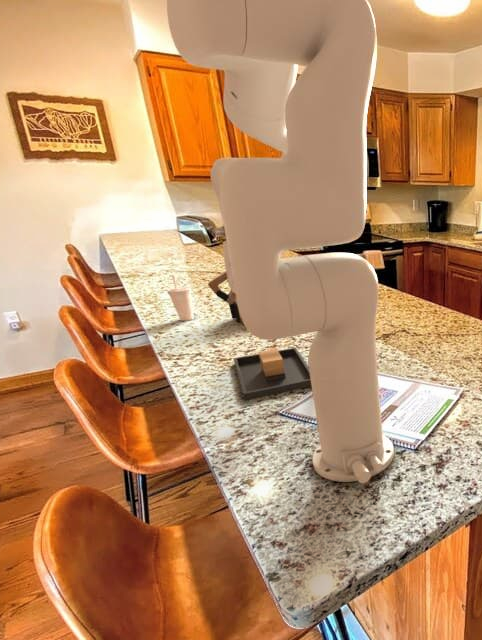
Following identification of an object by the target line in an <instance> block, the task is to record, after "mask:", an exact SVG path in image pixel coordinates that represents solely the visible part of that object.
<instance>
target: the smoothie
mask: <svg viewBox="0 0 482 640" xmlns="http://www.w3.org/2000/svg"><path fill="white" fill-rule="evenodd" d="M171 277H172V280H173V285H174V287H171V288H168V289H167V290H166V292H167V294H168V295H169V297H170V300H171V302H172V304H173V307H174V309H175V311H176V313H177V316H178V319H179V320H180V321H183V322H186V321H191V320H194V319H195V318H194V310H193V302H192V294H191V292H192V289H191V287H189V286H178V284H177V281H176V280H177V279H176V277H175V274H172V275H171Z"/></svg>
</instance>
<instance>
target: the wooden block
mask: <svg viewBox="0 0 482 640" xmlns="http://www.w3.org/2000/svg"><path fill="white" fill-rule="evenodd" d="M278 351H279V350H278V348H275V349H269V350H268V349H267V350H262V351H258V353H257V354H259V358H260V363H261V367H262V371H263V374H264V376H265V379H266V381H267V382H268V381H272V380H277V379H282V378H286V376H285V370H284V365H283V359H282V357H281V355H280V354H279V352H278Z"/></svg>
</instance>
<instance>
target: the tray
mask: <svg viewBox="0 0 482 640" xmlns="http://www.w3.org/2000/svg"><path fill="white" fill-rule="evenodd" d="M278 352H279V354H280V355H281V357H282V359H283V365H284V370H285V376H286V378H282V379H277V380H272V381H268V382H267V381H266V379H265V376H264V374H263V371H262V367H261V363H260V358H259V353H257V354H252V355H246V356H245V355H244V356H240V357H234V358H233V362H234V367H235V370H236V373H237V377H238V382H239V386H240V389H241V392H242V396H243V400H244V402H247V401H251V400H256V399H260V398H265V397H271V396H274V395H279V394H283V393H288V392H293V391H298V390H303V389H308V388H312V386H311V379H310V373H309V366H308V363H306V361H305V360H304V358H303V355H301V353H300V352H299V350H298V349H297V348H296V347H292V348H287V349H281V350H278Z"/></svg>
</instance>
